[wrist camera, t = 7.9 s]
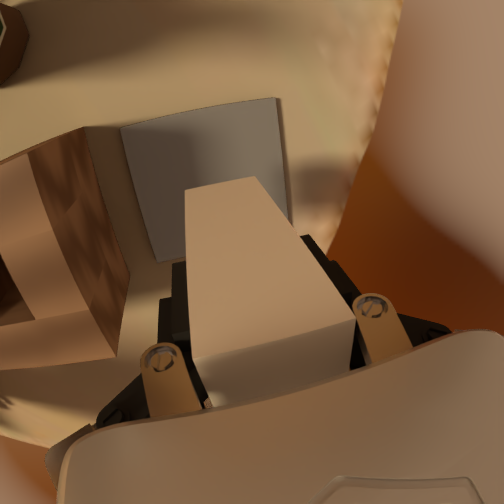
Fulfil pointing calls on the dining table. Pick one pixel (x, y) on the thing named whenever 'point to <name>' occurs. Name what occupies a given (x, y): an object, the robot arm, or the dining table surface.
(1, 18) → the beer bottle
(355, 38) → the dining table surface
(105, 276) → the wooden square ring
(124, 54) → the dining table surface
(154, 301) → the dining table surface
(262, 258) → the square peg
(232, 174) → the rubber mat
